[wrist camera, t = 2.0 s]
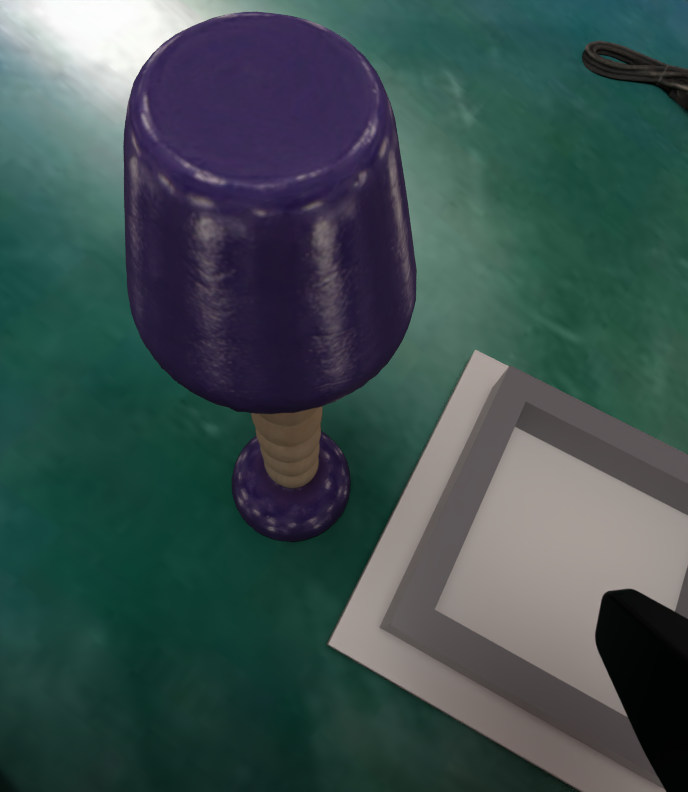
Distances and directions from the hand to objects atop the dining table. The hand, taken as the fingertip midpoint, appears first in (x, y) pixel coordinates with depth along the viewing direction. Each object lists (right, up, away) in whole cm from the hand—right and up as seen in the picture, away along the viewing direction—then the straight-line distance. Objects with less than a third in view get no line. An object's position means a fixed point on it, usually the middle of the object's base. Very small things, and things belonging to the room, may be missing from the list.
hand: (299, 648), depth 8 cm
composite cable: (+18, +20, +24) cm, 36 cm away
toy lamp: (-2, 0, +14) cm, 14 cm away
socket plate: (+8, -3, +13) cm, 16 cm away
